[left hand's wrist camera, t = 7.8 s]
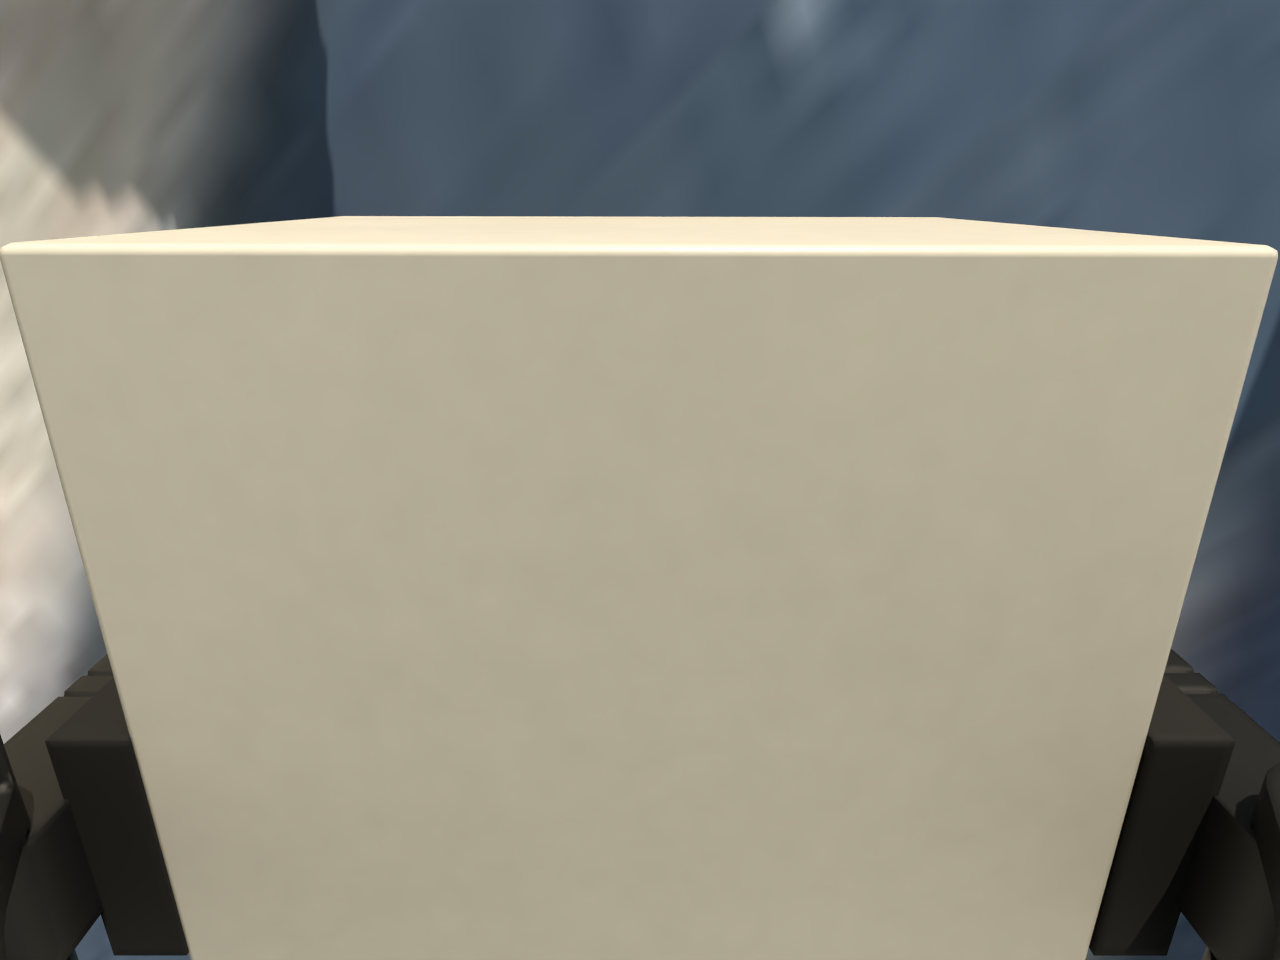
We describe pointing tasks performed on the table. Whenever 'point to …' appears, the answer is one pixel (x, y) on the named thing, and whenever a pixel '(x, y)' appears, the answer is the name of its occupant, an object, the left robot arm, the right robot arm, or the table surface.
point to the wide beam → (638, 569)
